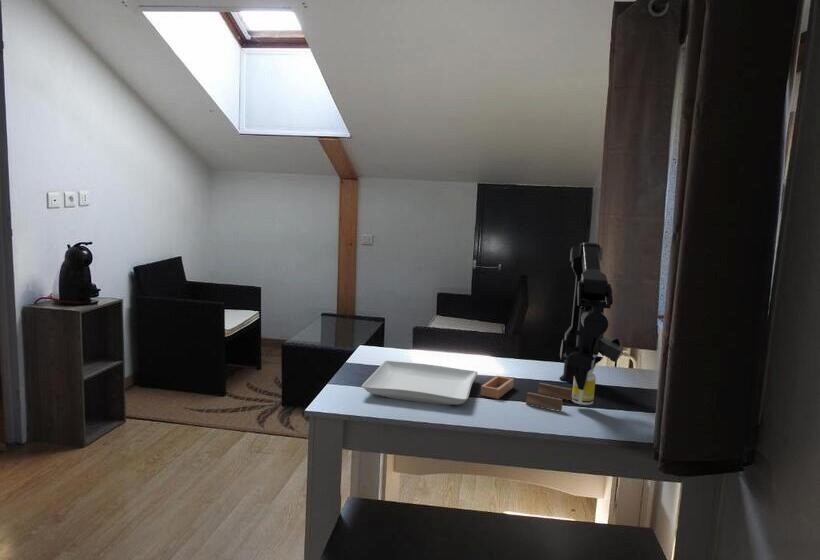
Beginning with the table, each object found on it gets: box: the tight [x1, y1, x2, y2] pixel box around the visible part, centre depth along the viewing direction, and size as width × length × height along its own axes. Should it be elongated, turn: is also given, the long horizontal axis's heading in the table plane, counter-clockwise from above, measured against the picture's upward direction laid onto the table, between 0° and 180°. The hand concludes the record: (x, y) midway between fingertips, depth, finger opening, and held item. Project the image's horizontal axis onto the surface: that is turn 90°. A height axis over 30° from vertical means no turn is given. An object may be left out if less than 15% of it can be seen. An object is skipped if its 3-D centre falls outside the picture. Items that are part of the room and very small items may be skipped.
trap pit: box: [480, 375, 515, 400], centre depth 176 cm, size 12×5×2 cm, turn 152°
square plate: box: [361, 360, 478, 406], centre depth 174 cm, size 27×27×4 cm
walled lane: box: [525, 382, 573, 412], centre depth 169 cm, size 11×9×3 cm
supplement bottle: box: [571, 367, 597, 406], centre depth 165 cm, size 5×5×10 cm
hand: (583, 386), depth 165 cm, fingers closed on supplement bottle, 5 cm apart
